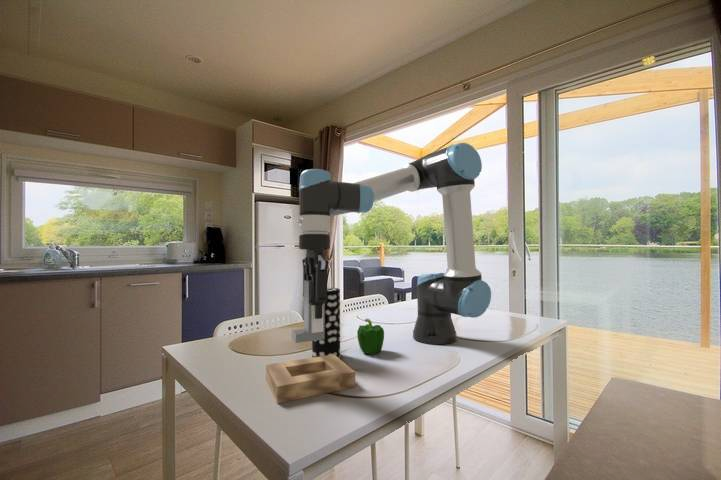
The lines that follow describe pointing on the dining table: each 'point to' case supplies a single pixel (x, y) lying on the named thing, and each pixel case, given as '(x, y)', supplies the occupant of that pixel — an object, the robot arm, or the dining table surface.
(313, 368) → the wooden rectangular frame
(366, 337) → the bell pepper
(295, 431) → the dining table surface
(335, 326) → the white-spotted black cylinder
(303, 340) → the bracket
